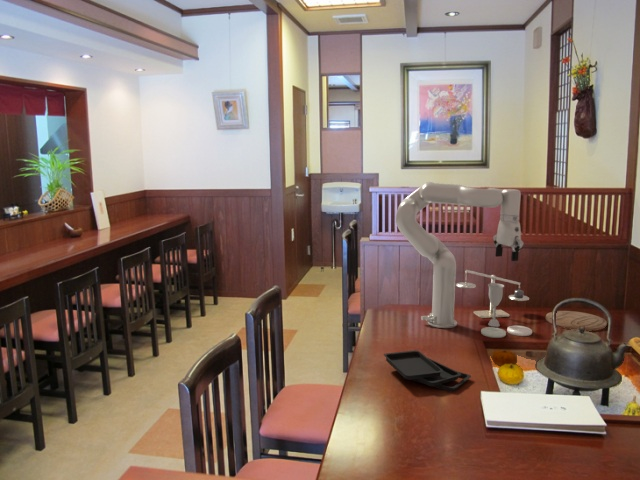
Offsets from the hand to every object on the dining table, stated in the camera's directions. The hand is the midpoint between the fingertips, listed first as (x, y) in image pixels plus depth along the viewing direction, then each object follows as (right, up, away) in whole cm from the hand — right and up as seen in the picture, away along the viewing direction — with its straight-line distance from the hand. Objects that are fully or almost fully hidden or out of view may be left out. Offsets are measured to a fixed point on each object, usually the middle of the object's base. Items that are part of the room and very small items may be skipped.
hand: (506, 258), depth 239 cm
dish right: (+5, -31, 0) cm, 32 cm away
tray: (-45, -40, -48) cm, 76 cm away
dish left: (-6, -32, -3) cm, 32 cm away
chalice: (-3, -30, +9) cm, 31 cm away
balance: (+1, -27, +24) cm, 36 cm away
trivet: (+35, -30, +13) cm, 48 cm away
